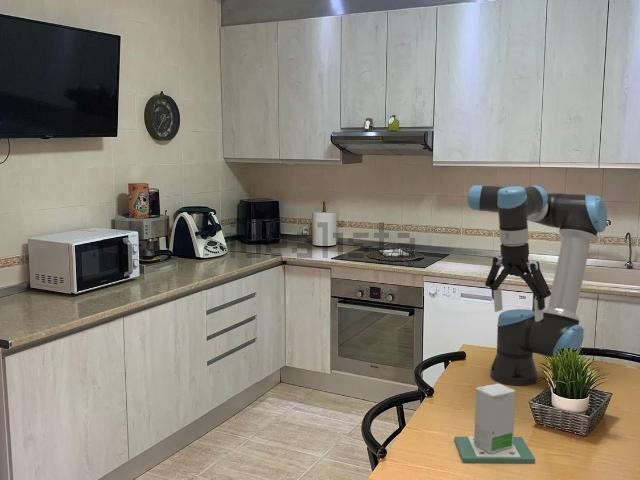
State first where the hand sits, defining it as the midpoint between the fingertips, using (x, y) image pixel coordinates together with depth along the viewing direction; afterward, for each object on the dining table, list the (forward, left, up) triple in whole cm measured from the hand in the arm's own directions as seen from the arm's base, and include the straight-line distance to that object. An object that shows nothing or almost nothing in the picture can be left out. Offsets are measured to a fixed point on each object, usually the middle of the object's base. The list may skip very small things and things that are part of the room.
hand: (518, 315), depth 185 cm
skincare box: (+9, -22, -29) cm, 38 cm away
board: (+9, -22, -31) cm, 39 cm away
